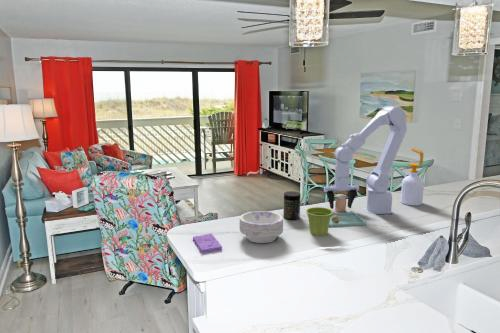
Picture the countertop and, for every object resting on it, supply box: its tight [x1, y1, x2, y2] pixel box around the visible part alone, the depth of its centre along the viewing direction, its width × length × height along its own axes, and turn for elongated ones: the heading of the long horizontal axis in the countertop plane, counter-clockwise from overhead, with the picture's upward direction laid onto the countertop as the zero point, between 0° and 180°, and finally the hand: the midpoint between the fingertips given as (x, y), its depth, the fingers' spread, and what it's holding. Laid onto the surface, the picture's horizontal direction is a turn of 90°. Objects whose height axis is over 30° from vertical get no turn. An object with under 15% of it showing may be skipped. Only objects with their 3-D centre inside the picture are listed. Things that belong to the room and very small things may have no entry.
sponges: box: [192, 232, 223, 254], centre depth 131 cm, size 7×13×2 cm, turn 21°
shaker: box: [334, 193, 348, 213], centre depth 162 cm, size 5×5×7 cm
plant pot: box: [305, 206, 334, 237], centre depth 139 cm, size 9×9×9 cm
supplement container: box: [282, 190, 302, 221], centre depth 154 cm, size 7×7×10 cm
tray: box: [329, 211, 367, 228], centre depth 151 cm, size 16×12×2 cm
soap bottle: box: [400, 147, 425, 207], centre depth 172 cm, size 9×9×25 cm
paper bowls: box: [239, 210, 284, 244], centre depth 135 cm, size 15×15×8 cm
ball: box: [331, 215, 340, 223], centre depth 148 cm, size 3×3×3 cm
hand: (340, 207), depth 162 cm, fingers open, 7 cm apart
